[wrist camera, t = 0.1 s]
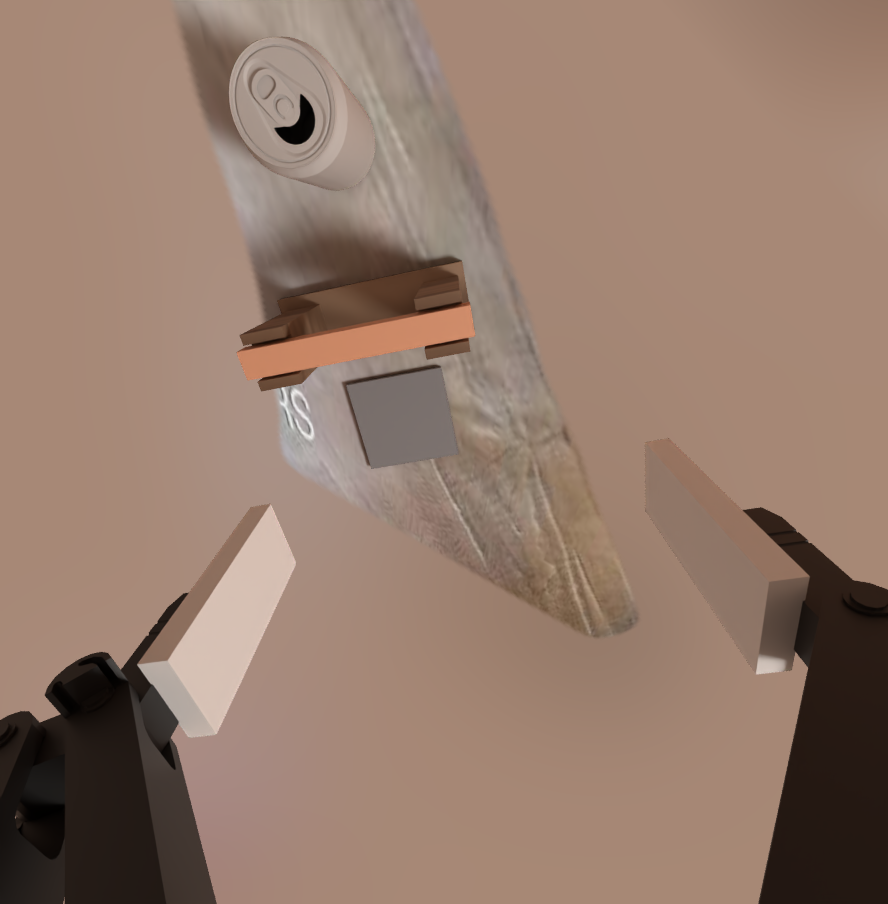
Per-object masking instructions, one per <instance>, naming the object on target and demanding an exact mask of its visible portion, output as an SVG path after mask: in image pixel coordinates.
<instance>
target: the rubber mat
mask: <svg viewBox="0 0 888 904" xmlns="http://www.w3.org/2000/svg"><path fill="white" fill-rule="evenodd" d="M346 386H347V390H348V393H349V396H350V400H351V403H352V406H353V409H354V413H355V416H356V419H357V423H358V426H359V429H360V433H361V436H362V439H363V443H364V446H365V449H366V452H367V456H368V459H369V462H370V466H371V469H374V468H380V467H386V466H392V465H398V464H404V463H410V462H416V461H422V460H428V459H434V458H440V457H445V456H451V455H457V454H458V448H457V443H456V438H455V433H454V428H453V423H452V418H451V414H450V409H449V404H448V399H447V394H446V389H445V384H444V379H443V374H442V370H441V366H439V367H434V368H429V369H423V370H418V371H413V372H408V373H402V374H397V375H392V376H386V377H381V378H376V379H371V380H365V381H360V382H355V383H349V384H347V385H346Z"/></svg>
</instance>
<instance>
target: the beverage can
mask: <svg viewBox="0 0 888 904" xmlns="http://www.w3.org/2000/svg"><path fill="white" fill-rule="evenodd" d="M229 104H230V110H231V114H232V117H233V120H234V123H235V126H236V128H237V130H238V132H239V134H240V136H241V138H242V139H243V141H244V143H245V145H246V146H247V148H248V149H249V151H250V152H251V153H252V154H253V156H254V157H255V158H256V159H257V160H258V161H259V162H260V163H261V164H263V165H264V166H265V167H267V168H268V169H270V170H271V171H273V172H275V173H277V174H279V175H282V176H285V177H288V178H291V179H295V180H298V181H301V182H305V183H308V184H311V185H314V186H318V187H321V188H324V189H328V190H333V191H340V190H345V189H349V188H351V187H353V186H355V185H357V184H358V183H359V182H360V181H361V180H362V179H363V178H364V177H365V176H366V174H367V173H368V171H369V170H370V167H371V165H372V162H373V159H374V154H375V136H374V130H373V127H372V123H371V121H370V119H369V116H368V114H367V113H366V111H365V110H364V108H363V107H362V105H361V104H360V103H359V101H358V100H357V99H356V98H355V96H354V95H353V94H352V92H351V91H350V90H349V88H348V87H347V86H346V84H345V83H344V82H343V80H342V79H341V78H340V76H339V75H338V74H337V72H336V71H335V70H334V68H333V67H332V66H331V65H330V63H329V62H328V61H327V60H326V59H325V58H324V57H323V56H322V55H321V54H320V53H319V52H318V51H317V50H316V49H314V48H313V47H312V46H310V45H308V44H307V43H305V42H302V41H300V40H297V39H294V38H290V37H269V38H264V39H261V40H258V41H256V42H254V43H252V44H251V45H249V46H248V47H247V48H246V49H245V50H244V51H243V52H242V53H241V54H240V56H239V57H238V59H237V61H236V62H235V64H234V67H233V70H232V73H231V76H230V82H229Z"/></svg>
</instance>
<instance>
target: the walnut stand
mask: <svg viewBox="0 0 888 904" xmlns="http://www.w3.org/2000/svg"><path fill="white" fill-rule="evenodd" d="M277 302H278V305H279V307H280V310H281V313H282V314H281V315H279V316H277V317H275V318H273V319H271V320H269V321H267V322H265V323H263V324H261V325H259V326H257V327H255V328H253V329H251V330H249V331H247V332H245V333H243V334H241V335H240V338H241V340H242V343H243V346H244V345H249V344H252V346H254V345H258V344H263V343H268V342H273V341H278V340H283V339H288V338H293V337H298V336H303V335H308V334H313V333H318V332H323V331H328V330H333V329H338V328H343V327H347V326H352V325H357V324H362V323H367V322H372V321H377V320H382V319H387V318H392V317H397V316H402V315H407V314H412V313H417V312H422V311H427V310H431V309H436V308H441V307H446V306H451V305H456V304H461V303H466V302H469V300H468V294H467V288H466V282H465V276H464V270H463V264H462V261H458V262H453V263H448V264H444V265H439V266H434V267H430V268H425V269H420V270H415V271H411V272H406V273H401V274H397V275H392V276H387V277H382V278H378V279H373V280H368V281H364V282H359V283H354V284H349V285H345V286H340V287H335V288H331V289H326V290H321V291H316V292H312V293H307V294H302V295H298V296H293V297H288V298H283V299H280V300H277ZM464 352H470V346H469V338H464V339H458V340H453V341H448V342H443V343H438V344H433V345H428V346H425V353H426V358H427V360H428V359H433V358H438V357H443V356H449V355H454V354H459V353H464ZM316 368H317V367H314V368H309V369H304V370H299V371H294V372H289V373H284V374H278V375H273V376H268V377H263V378H262V379H261V380H259V381H258V384H259V387H260V389H261V391H266V390H271V389H276V388H281V387H286V386H292V385H297V384H302V383H303V382H304V381H305V380H306V378H307V377H308V376H309V375H310V374H311V373H312V372H313V371H314V370H315V369H316Z"/></svg>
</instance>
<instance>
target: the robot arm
mask: <svg viewBox="0 0 888 904" xmlns="http://www.w3.org/2000/svg"><path fill="white" fill-rule="evenodd" d="M645 506H646V508H645V511H646V513H647V514H648V515H649V517H650V518H651V520H652V521H653V523H654V524H655V526H656V527H657V529H658V530H659V532H660V533H661V535H662V536H663V538H664V539H665V541H666V542H667V544H668V545H669V547H670V548H671V549H672V551H673V553H674V554H675V555H676V557H677V558H678V560H679V561H680V563H681V564H682V566H683V567H684V569H685V570H686V572H687V573H688V575H689V576H690V578H691V579H692V581H693V582H694V584H695V585H696V587H697V588H698V590H699V591H700V592H701V594H702V595H703V597H704V598H705V600H706V601H707V603H708V604H709V606H710V607H711V609H712V610H713V612H714V613H715V614H716V616H717V618H718V619H719V621H720V622H721V624H722V625H723V626H724V628H725V629H726V631H727V632H728V634H729V635H730V637H731V638H732V640H733V641H734V643H735V644H736V646H737V647H738V649H739V650H740V652H741V653H742V655H743V656H744V658H745V659H746V661H747V662H748V663H749V665H750V666H751V668H752V669H753V671H754V672H755V674H764V673H773V672H781V671H790V670H792V666H793V661H794V656H795V652H796V653H797V654H798V655H799V657H800V658H801V659H802V660H803V662H804V663H805V664H806V665H807V667H808V672H807V676H806V681H805V686H804V690H803V695H802V700H801V705H800V710H799V714H798V719H797V724H796V728H795V733H794V738H793V742H792V747H791V752H790V757H789V761H788V766H787V771H786V775H785V780H784V785H783V790H782V794H781V799H780V804H779V809H778V813H777V818H776V823H775V827H774V832H773V837H772V842H771V846H770V851H769V856H768V860H767V865H766V870H765V875H764V879H763V884H762V889H761V894H760V898H759V904H888V590H887V589H885V588H882V587H879V586H876V585H873V584H870V583H866V582H860V581H854V580H852V579H851V578H850V577H849V576H848V575H847V574H845V573H844V572H843V571H842V570H841V569H840V568H839V567H838V566H836V565H835V564H834V563H833V562H832V561H831V560H830V559H829V558H827V557H826V556H825V555H824V554H823V553H822V552H821V551H820V550H818V549H817V548H816V547H815V546H814V545H812V543H808V540H807V539H806V538H805V537H804V536H802V535H801V534H800V533H799V532H798V533H797V532H796V529H795V528H793V527H792V526H791V525H790V524H789V523H788V522H787V521H786V520H784V519H783V518H782V517H780V516H778V515H776V514H774V513H772V512H770V511H768V510H766V509H764V508H754V509H747V510H742V509H741V508H740V507H739V506H737V505H736V504H735V503H734V502H733V501H732V500H731V499H730V498H729V497H728V496H727V495H726V494H725V493H724V492H723V491H722V490H721V489H720V488H719V487H718V486H717V485H716V484H715V483H714V482H713V481H712V480H711V479H710V478H709V477H708V476H707V475H706V474H705V473H704V472H703V471H702V470H701V469H700V468H698V466H697V465H696V464H695V463H694V462H693V461H692V460H691V459H690V458H688V457H687V455H685V454H684V453H683V452H682V451H681V450H680V449H679V448H678V447H677V446H676V445H675V444H674V443H673V442H672V441H671V440H670V439H669V438H668V439H661V440H655V441H649V442H645ZM295 565H296V562H295V559H294V557H293V555H292V552H291V550H290V548H289V546H288V543H287V541H286V539H285V536H284V534H283V531H282V529H281V527H280V524H279V522H278V520H277V518H276V515H275V513H274V510H273V508H272V506H271V504H267V505H261V506H255V507H251V508H250V509H249V511H248V512H247V513H246V515H245V516H244V517H243V519H242V520H241V522H240V523H239V524H238V526H237V527H236V529H235V530H234V531H233V533H232V534H231V535H230V537H229V538H228V539H227V541H226V542H225V544H224V545H223V546H222V548H221V549H220V551H219V552H218V554H217V555H216V556H215V557H214V559H213V560H212V562H211V563H210V564H209V566H208V567H207V569H206V570H205V571H204V573H203V574H202V576H201V577H200V578H199V580H198V581H197V582H196V584H195V585H194V586H193V588H192V589H191V591H190V592H189V593H185V594H183V595H181V596H180V597H179V598H178V599H177V600H176V601H175V602H173V603H172V604H171V605H170V606H169V607H168V608H167V609H166V611H165V612H164V613H163V615H162V616H161V617H160V619H159V620H158V623H157V624H155V625H154V627H153V628H152V629H151V631H150V632H149V636H146V637H145V639H144V640H143V641H142V643H141V644H140V645H139V647H138V648H137V649H136V651H135V652H134V653H133V655H132V656H131V657H130V659H129V660H128V661H127V663H126V664H125V665H124V667H123V668H122V669H121V670H120V669H119V667H118V666H117V665H116V663H115V662H114V660H113V659H112V658H111V656H110V655H109V654H108V653H105V652H99V653H94V654H90V655H88V656H85V657H83V658H81V659H79V660H77V661H76V662H74V663H73V664H71V665H70V666H68V667H66V668H65V669H64V670H63V671H62V672H61V673H60V674H58V675H57V676H56V677H55V678H54V680H53V681H52V682H51V684H50V685H49V686H48V688H47V690H46V693H45V696H46V698H47V699H48V700H49V701H50V702H51V703H52V704H53V705H54V707H55V708H56V709H57V710H58V711H59V712H60V713H61V715H58V716H56V717H53V718H50V719H48V720H46V721H43V722H40V723H39V722H38V721H37V719H36V718H35V717H34V716H33V715H32V714H31V713H30V712H29V711H26V712H25V711H20V712H18V713H14V714H11V715H9V716H7V717H5V718H3V719H2V720H0V904H63V901H64V897H65V904H216V900H215V896H214V892H213V888H212V884H211V880H210V876H209V872H208V868H207V864H206V860H205V856H204V853H203V849H202V845H201V841H200V837H199V833H198V829H197V825H196V821H195V817H194V813H193V809H192V805H191V802H190V798H189V794H188V790H187V786H186V783H185V778H184V774H183V771H182V766H181V763H180V758H179V755H178V751H177V747H176V745H175V744H174V742H173V741H172V739H171V736H172V734H173V732H174V730H175V728H176V727H177V725H178V723H179V725H180V726H181V727H182V729H183V730H184V732H185V733H186V735H187V736H188V737H189V738H191V737H200V736H209V735H216V734H217V732H218V730H219V728H220V726H221V724H222V721H223V720H224V717H225V715H226V713H227V711H228V709H229V707H230V705H231V702H232V700H233V698H234V696H235V693H236V691H237V690H238V687H239V685H240V683H241V681H242V679H243V677H244V675H245V672H246V670H247V668H248V666H249V664H250V662H251V659H252V657H253V655H254V653H255V651H256V649H257V647H258V644H259V642H260V640H261V638H262V636H263V634H264V632H265V630H266V627H267V625H268V623H269V621H270V619H271V616H272V614H273V612H274V610H275V608H276V606H277V604H278V601H279V600H280V597H281V595H282V593H283V591H284V589H285V587H286V585H287V582H288V580H289V578H290V576H291V574H292V572H293V570H294V567H295ZM15 816H16V819H15Z"/></svg>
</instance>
